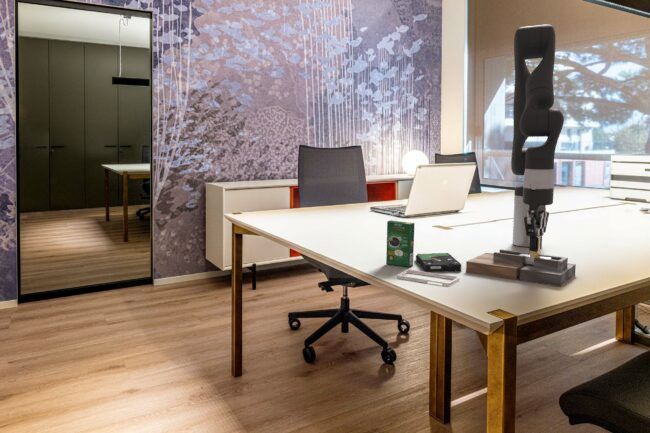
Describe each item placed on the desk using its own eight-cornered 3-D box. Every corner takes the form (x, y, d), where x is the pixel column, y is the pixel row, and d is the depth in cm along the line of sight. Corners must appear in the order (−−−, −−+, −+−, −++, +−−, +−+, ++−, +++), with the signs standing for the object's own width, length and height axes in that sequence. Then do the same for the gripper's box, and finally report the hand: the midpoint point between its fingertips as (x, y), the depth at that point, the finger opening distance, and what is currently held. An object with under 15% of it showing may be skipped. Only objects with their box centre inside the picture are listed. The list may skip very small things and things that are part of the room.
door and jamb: (485, 262, 158) (486, 244, 158) (575, 275, 143) (576, 255, 142) (466, 271, 148) (466, 252, 147) (560, 286, 132) (561, 265, 131)
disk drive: (462, 273, 148) (448, 261, 163) (462, 264, 148) (448, 252, 163) (425, 274, 148) (414, 261, 163) (425, 264, 148) (415, 252, 162)
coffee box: (414, 265, 155) (415, 222, 153) (410, 267, 153) (410, 223, 151) (390, 262, 160) (390, 219, 158) (385, 264, 158) (386, 221, 156)
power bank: (459, 281, 140) (408, 273, 148) (460, 276, 140) (408, 269, 148) (449, 288, 134) (396, 279, 142) (449, 283, 134) (396, 274, 142)
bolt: (521, 260, 146) (522, 233, 145) (551, 264, 141) (552, 236, 140) (518, 262, 144) (519, 235, 143) (548, 266, 139) (550, 238, 138)
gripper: (532, 183, 147) (529, 244, 149) (514, 187, 136) (512, 253, 139) (560, 184, 142) (557, 247, 145) (544, 189, 132) (541, 256, 134)
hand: (535, 250), depth 142 cm, fingers closed on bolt, 2 cm apart
